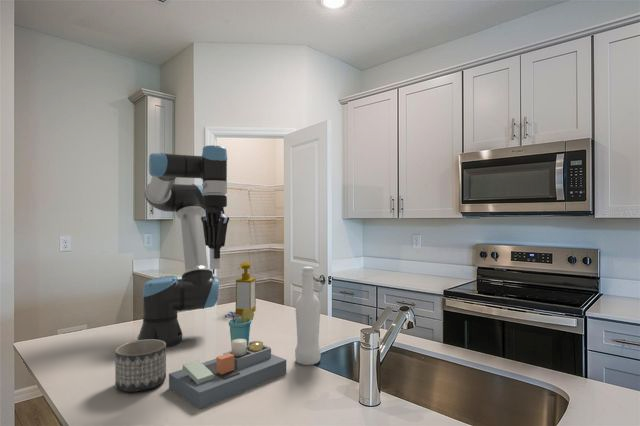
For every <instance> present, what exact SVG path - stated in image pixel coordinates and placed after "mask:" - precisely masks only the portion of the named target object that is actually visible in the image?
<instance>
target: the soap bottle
mask: <svg viewBox="0 0 640 426" xmlns="http://www.w3.org/2000/svg"><path fill="white" fill-rule="evenodd" d="M251 266H252V263H249V262H246V261H245V262H243V263H241V264H240V265H239V267H238V270H239V269H241V270H242V269H243V273H241V277H239V278H238V279H235V314H236V315H242V312H243V311H244V310H245V309H246V308H249V309H252V310H253V313H255V312H256V309H257V306H256V302H257V301H256V297H257V296H256V291H257V290H256V289H257V288H256V286H257V285H256V283H257V282H256V281H257V280H256V279H257V278H256V277H250V276H251V275H250V272H248V271H249V270H248V269H250V268H251Z"/></svg>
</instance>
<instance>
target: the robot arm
mask: <svg viewBox="0 0 640 426" xmlns="http://www.w3.org/2000/svg"><path fill="white" fill-rule="evenodd" d="M227 172H228V153H227V148H226V147H224V146H222V145H205V146H203V147H202V154H201V155H188V154H178V153H177V154H176V153H175V154H173V153H164V152H159V153H158V152H157V153H156V152H154V153H153V152H152V153H150V154H149V157H148V173H149V175H150V176H151V180H150V182H149V183H148V184H147V185H146V187H145V189H144V197H145V200H146V202H148V204H149V205H150V206H151V207H153V208H155V209H157V210H159V211H163V212H167V213H168V212H170V213H171V212H173V213H174V212H175V215H176V217H177V218H178V219H180V225H181V238H182V250H183V259H184V270H185V271H184V272H183V273H182V274H181V278H180V279H179V278H178V276H177V275H165V276H160V277H155V278H153V279H150V280H147V281H145V283H144V284H143V286H142V287H143V289H142V296H141V297H143V298H142V325H141V327H140V330H139V333H138V337H137V341H138V340H146V339H156V340H162V341H164V342H165V343H166V348H169V347H174V346H175V345H178V344H180V343H181V342H182V341H183V331H182V328H181V325H180V322H179V320H178V312H183V311H192V310H193V311H194V310H204V309H207V308H208V309H210V308H213V307H215V306H216V304H217V302H218V298H219V292H220V281H219V277H218V276H216V275H215V276H214V272H213V270H218V269H220V268H221V266H220V265H221V249H222V247H225V245H226V238H227V232H228V224H229V221H230V217H229V216H226V215H225V208H226V207H227V206H228V198H227V197H228V196H226V195H227V193H228V182H227V181H228V179H227V178H228V177H227V176H228V173H227ZM177 178H184V179H185V178H186V179H201V180H202V184H201V185H200V184H193V183H192V184H177V183H175V181H176V179H177ZM207 248H209V264H208V257H207V256H208V255H207ZM208 265H209V266H208Z"/></svg>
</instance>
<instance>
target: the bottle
mask: <svg viewBox="0 0 640 426" xmlns="http://www.w3.org/2000/svg"><path fill="white" fill-rule="evenodd" d="M314 275H315V273H314V267H313V266H303V267H302V273H301V276H302V278H301V279H302V280H301V283H302V285H301V294H300V295H299V296H298V298H297V299H296V301H295V322H296V323H295V324H296V325H295V326H296V336H297V337H296V338H297V339H296V342H297V343H296V347H295V349H294V351H295V354H294V356H295V362H296V363H297V364H300V365H303V366H312V365H313V366H314V365H315V364H316V365H317V364H318V363H319V362H320V360H321V357H322V356H321V354H322V353H321V351H322V350H321V347H320V345H319V336H320V335H319V334H320V317H321V302H320V300H319V298H318V297H317V296H316V294H315V289H314Z"/></svg>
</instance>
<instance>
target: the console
mask: <svg viewBox="0 0 640 426" xmlns="http://www.w3.org/2000/svg"><path fill="white" fill-rule="evenodd" d="M228 353H230V354H232V350H230V351H227V352H224V353H223V354H222V355H225V354H228ZM201 363H202V364H203V365H204V366H205V367H207V368H208V369H209V370H210V371H211V372H212V373H213V374H214V375H213V379H211V380H209V381H206V382H203V383H200V384H197V383H196V382H195V381H194V380H193V379H192V378H191V377H190V376H189V375H188V374H187V373H186V372H185V371H184V370H183V369H179V370H176V371H174V372H173V371H172V372H170V373H168V389H169V390H171V391H172V392H174V393H175V394H177V395H178V396H179V397H181V398H182V399H184V400H185V401H187V403H190V404H191V405H193V406H194V407H195V408H197V409H199V410H201V409H204V408H206V407H209V406H211V405H214V404H215V403H219V402H220V401H223V400H225V399H227V398H231V397H232V396H236V395H238V394H240V393H242V392H245V391H247V390H249V389H252V388H254V387H256V386H259V385H261V384H264V383H266V382H269V381H272V380H275V379H277V378H279V377H281V376H284V375H286V374H287V359H285V358H282V357H281V356H278V355H275V354H273V353H272V348H271V347H270V346H267V345H266V344H263V350H261V351H258V352H255V353H254V352H251V351H249V345H248V346H247V353H246V354H245V355H242V356H234V370H233V371H230V372H227V373H224V374H222V375H221V374H219V373H217V372H216V358H214V359H210V360H207V361H204V362H201Z"/></svg>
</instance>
